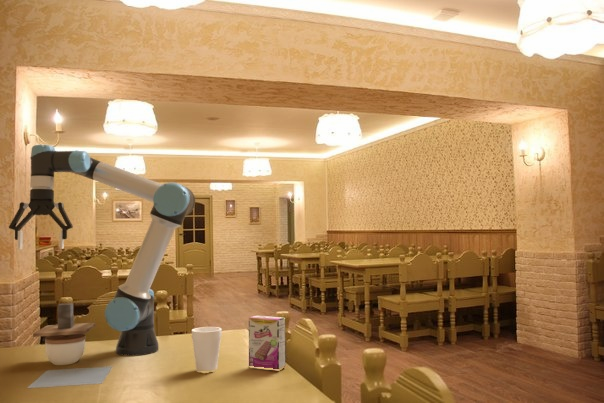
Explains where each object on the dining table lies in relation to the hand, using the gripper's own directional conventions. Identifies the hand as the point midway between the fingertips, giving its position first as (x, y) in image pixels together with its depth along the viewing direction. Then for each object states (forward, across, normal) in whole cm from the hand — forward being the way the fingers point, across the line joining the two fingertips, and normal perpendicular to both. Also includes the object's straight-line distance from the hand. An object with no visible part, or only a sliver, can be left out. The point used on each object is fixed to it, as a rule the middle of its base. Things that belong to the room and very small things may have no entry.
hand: (40, 249), depth 183 cm
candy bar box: (+39, -76, +29) cm, 90 cm away
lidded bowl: (+39, -10, +6) cm, 41 cm away
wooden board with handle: (+28, -10, +6) cm, 30 cm away
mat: (+39, -17, +26) cm, 50 cm away
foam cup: (+39, -57, +27) cm, 74 cm away
